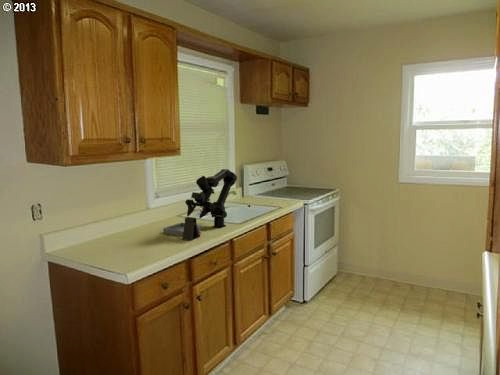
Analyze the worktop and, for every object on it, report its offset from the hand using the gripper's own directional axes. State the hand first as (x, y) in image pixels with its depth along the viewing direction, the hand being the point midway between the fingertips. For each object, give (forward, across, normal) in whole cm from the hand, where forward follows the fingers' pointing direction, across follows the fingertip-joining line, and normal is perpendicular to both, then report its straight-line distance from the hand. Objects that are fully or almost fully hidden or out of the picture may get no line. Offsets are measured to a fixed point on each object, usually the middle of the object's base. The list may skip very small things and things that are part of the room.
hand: (193, 217), depth 209 cm
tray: (+4, -14, +12) cm, 19 cm away
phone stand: (+10, 0, +7) cm, 12 cm away
